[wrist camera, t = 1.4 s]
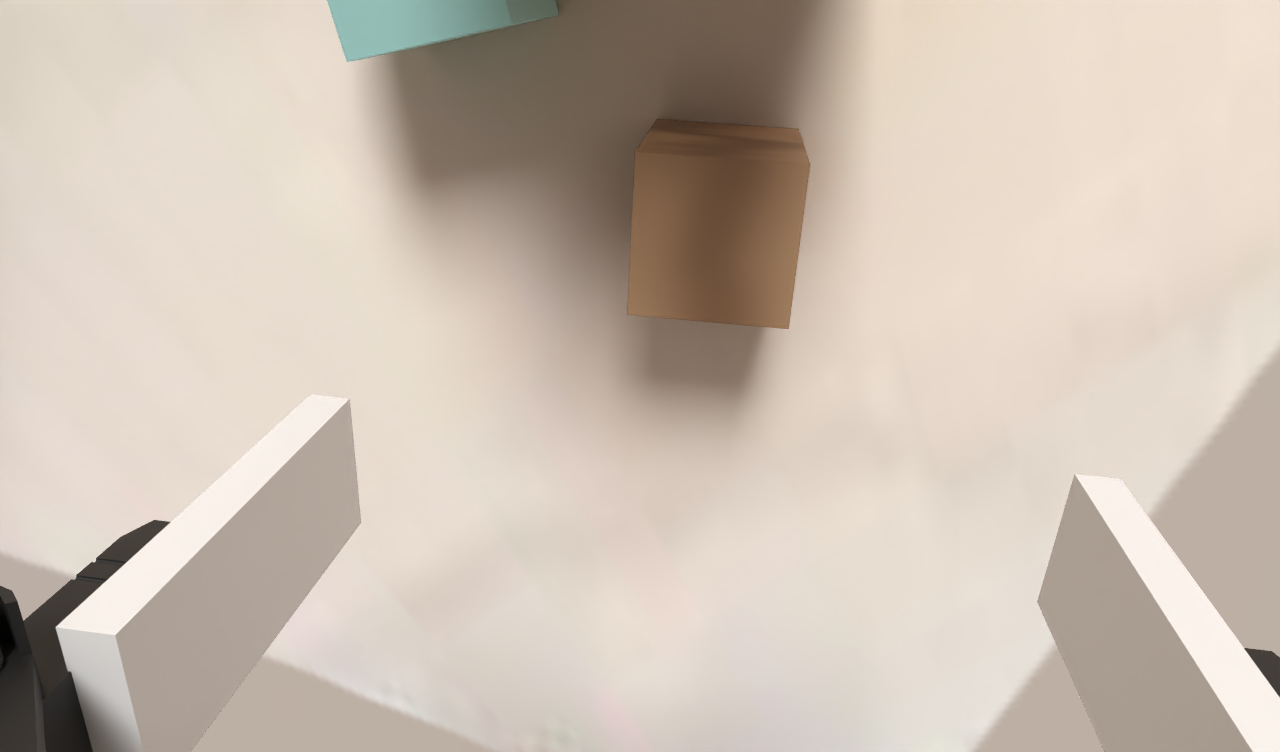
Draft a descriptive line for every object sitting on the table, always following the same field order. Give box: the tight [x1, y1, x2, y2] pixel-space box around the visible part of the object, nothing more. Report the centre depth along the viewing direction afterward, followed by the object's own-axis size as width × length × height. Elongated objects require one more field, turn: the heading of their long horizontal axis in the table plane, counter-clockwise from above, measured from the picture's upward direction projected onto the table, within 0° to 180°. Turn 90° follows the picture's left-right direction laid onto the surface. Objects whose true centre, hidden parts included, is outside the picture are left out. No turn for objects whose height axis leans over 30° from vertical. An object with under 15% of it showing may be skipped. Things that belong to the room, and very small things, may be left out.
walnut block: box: [627, 119, 810, 329], centre depth 35 cm, size 6×6×8 cm
